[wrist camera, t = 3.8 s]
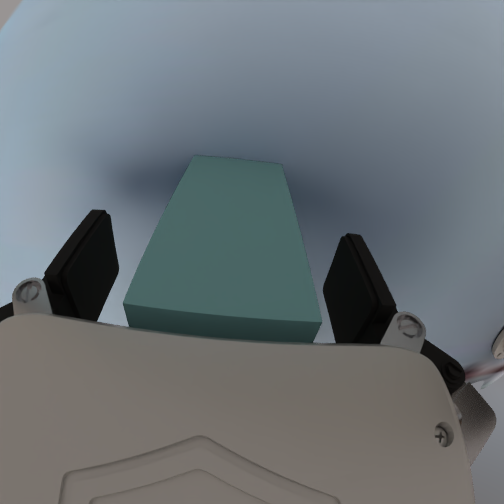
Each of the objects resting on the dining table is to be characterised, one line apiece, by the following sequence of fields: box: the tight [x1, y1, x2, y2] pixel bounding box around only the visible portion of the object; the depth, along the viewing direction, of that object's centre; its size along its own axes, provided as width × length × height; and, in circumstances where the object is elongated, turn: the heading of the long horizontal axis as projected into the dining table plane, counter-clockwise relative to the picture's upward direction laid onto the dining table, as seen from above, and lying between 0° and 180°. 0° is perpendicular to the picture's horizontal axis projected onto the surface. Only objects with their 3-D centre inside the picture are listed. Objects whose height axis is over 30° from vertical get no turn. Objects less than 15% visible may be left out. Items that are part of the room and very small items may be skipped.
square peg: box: [123, 155, 322, 343], centre depth 11 cm, size 4×4×10 cm
